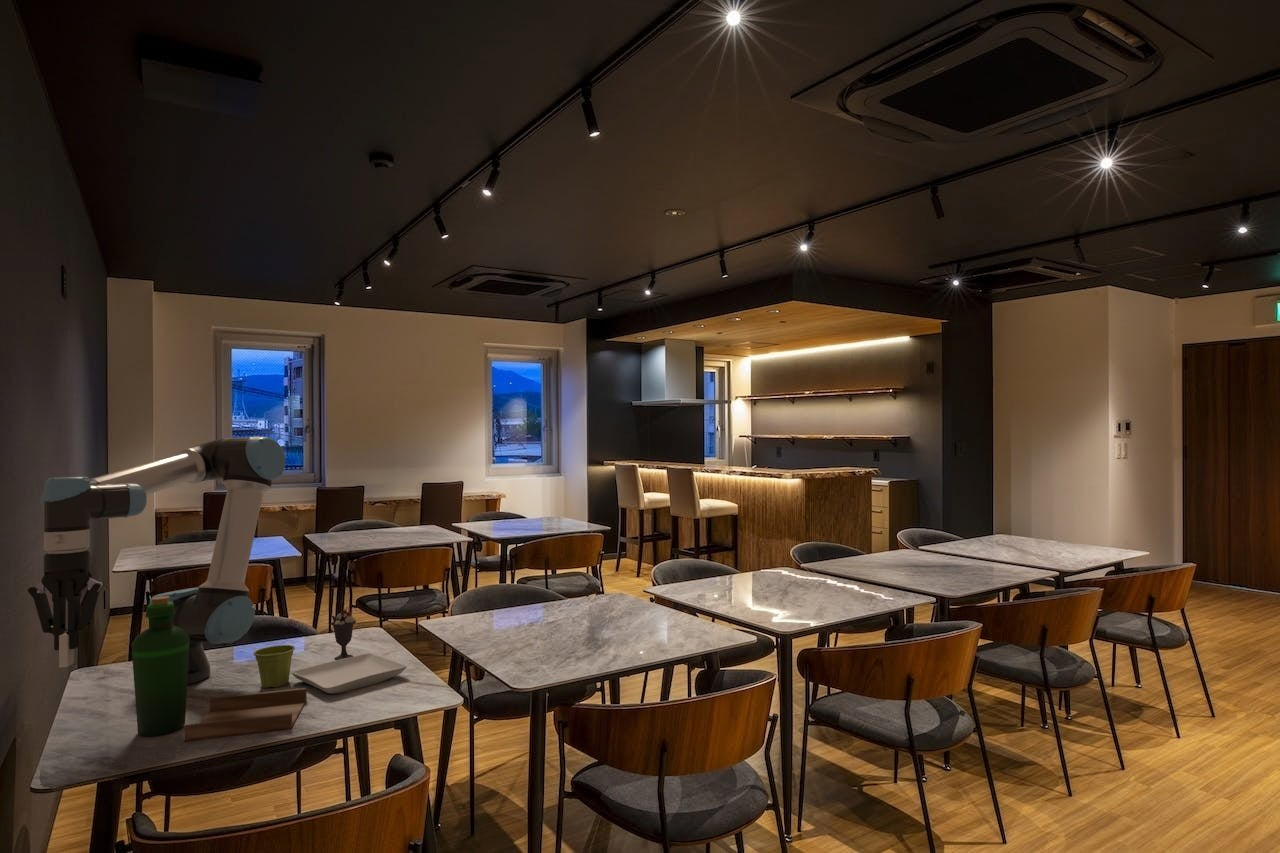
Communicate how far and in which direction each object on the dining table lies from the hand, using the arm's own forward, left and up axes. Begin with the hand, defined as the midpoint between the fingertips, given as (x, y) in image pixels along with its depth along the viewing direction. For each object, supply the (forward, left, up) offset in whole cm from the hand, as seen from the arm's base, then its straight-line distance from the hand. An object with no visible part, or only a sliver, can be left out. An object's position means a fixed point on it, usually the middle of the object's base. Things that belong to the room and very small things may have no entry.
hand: (66, 665), depth 150 cm
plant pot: (-25, +34, -16) cm, 45 cm away
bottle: (0, +17, -16) cm, 23 cm away
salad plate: (-22, +52, -16) cm, 59 cm away
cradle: (0, +34, -16) cm, 37 cm away
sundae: (-44, +48, -16) cm, 67 cm away
